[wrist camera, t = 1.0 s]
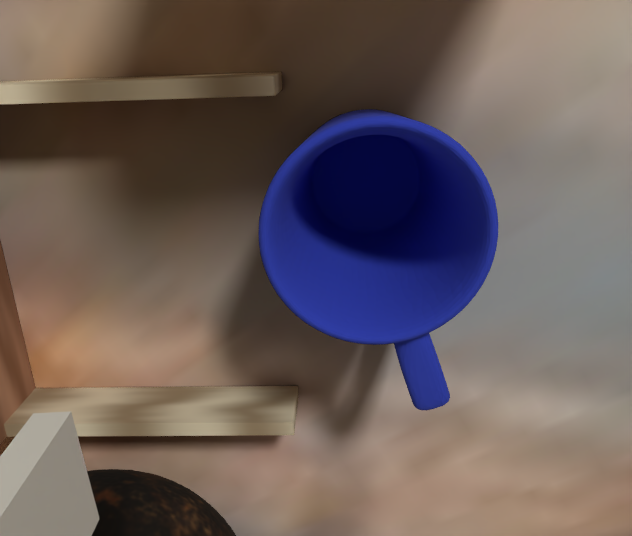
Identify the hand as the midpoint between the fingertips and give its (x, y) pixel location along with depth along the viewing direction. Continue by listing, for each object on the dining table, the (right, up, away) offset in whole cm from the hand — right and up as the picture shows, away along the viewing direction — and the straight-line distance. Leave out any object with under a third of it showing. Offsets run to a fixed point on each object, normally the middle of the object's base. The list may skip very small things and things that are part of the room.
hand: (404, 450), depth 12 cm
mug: (+1, +6, +18) cm, 20 cm away
